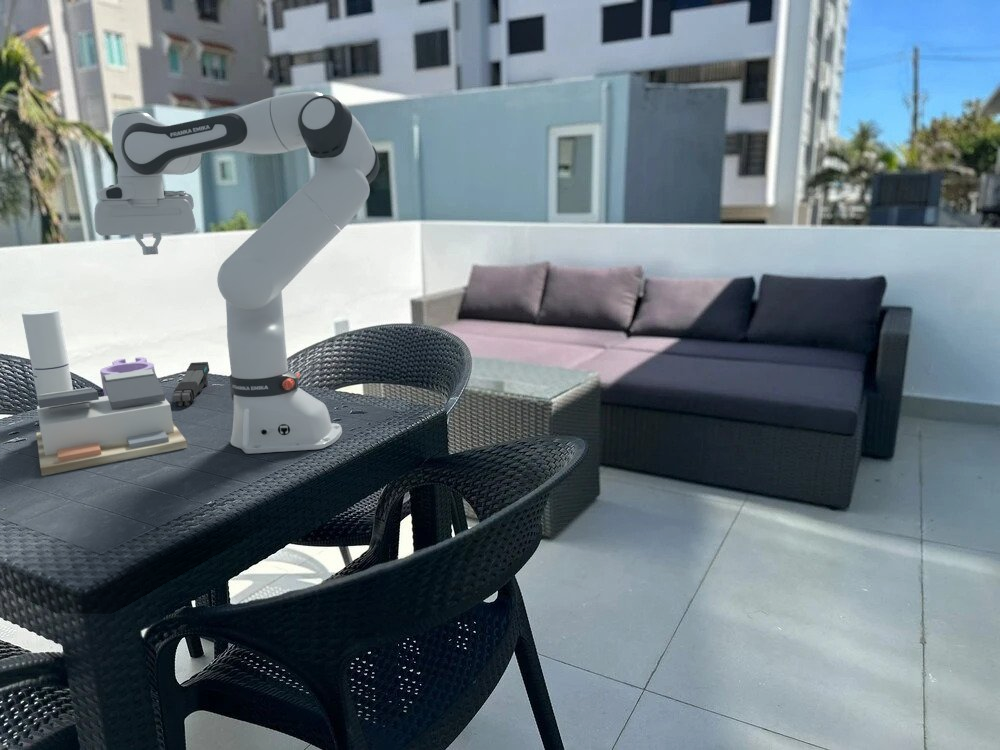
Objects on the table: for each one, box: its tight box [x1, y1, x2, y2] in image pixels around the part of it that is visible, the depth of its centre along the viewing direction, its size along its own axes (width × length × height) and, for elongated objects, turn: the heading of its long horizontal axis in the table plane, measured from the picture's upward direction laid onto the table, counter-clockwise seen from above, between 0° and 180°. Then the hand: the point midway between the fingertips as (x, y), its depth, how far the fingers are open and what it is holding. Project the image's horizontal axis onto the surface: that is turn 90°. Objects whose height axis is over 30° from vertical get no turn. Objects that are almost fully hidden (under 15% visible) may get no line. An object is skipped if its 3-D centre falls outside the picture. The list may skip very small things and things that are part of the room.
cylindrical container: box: [21, 308, 74, 405], centre depth 160 cm, size 7×7×25 cm
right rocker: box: [102, 368, 166, 409], centre depth 149 cm, size 12×10×2 cm
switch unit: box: [36, 395, 188, 477], centre depth 145 cm, size 25×25×9 cm
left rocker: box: [37, 387, 100, 408], centre depth 143 cm, size 12×10×2 cm
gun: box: [172, 361, 210, 407], centre depth 180 cm, size 4×20×10 cm, turn 8°
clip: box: [99, 356, 156, 396], centre depth 186 cm, size 20×12×7 cm, turn 24°
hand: (150, 254), depth 159 cm, fingers closed
